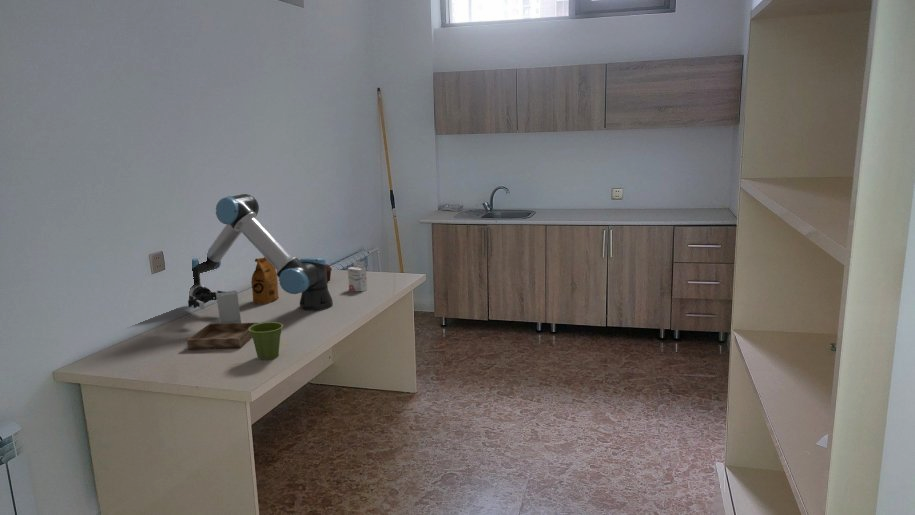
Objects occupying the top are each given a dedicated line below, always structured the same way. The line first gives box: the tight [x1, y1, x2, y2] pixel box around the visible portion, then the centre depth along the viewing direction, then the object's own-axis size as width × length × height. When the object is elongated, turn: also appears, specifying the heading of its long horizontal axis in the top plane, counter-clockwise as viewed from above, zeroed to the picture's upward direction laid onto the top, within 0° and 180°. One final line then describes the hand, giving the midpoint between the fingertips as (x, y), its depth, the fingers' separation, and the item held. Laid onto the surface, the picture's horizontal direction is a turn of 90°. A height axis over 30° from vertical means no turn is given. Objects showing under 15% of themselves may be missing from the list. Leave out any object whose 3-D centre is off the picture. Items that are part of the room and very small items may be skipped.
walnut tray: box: [186, 322, 259, 351], centre depth 238 cm, size 20×20×4 cm
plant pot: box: [248, 321, 284, 361], centre depth 218 cm, size 12×12×11 cm
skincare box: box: [216, 290, 242, 323], centre depth 255 cm, size 8×6×15 cm
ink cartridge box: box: [347, 260, 368, 292], centre depth 310 cm, size 9×5×15 cm, turn 58°
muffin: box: [326, 263, 333, 283], centre depth 332 cm, size 12×11×10 cm
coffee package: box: [251, 256, 279, 305], centre depth 294 cm, size 10×12×22 cm
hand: (219, 302), depth 262 cm, fingers open, 13 cm apart
